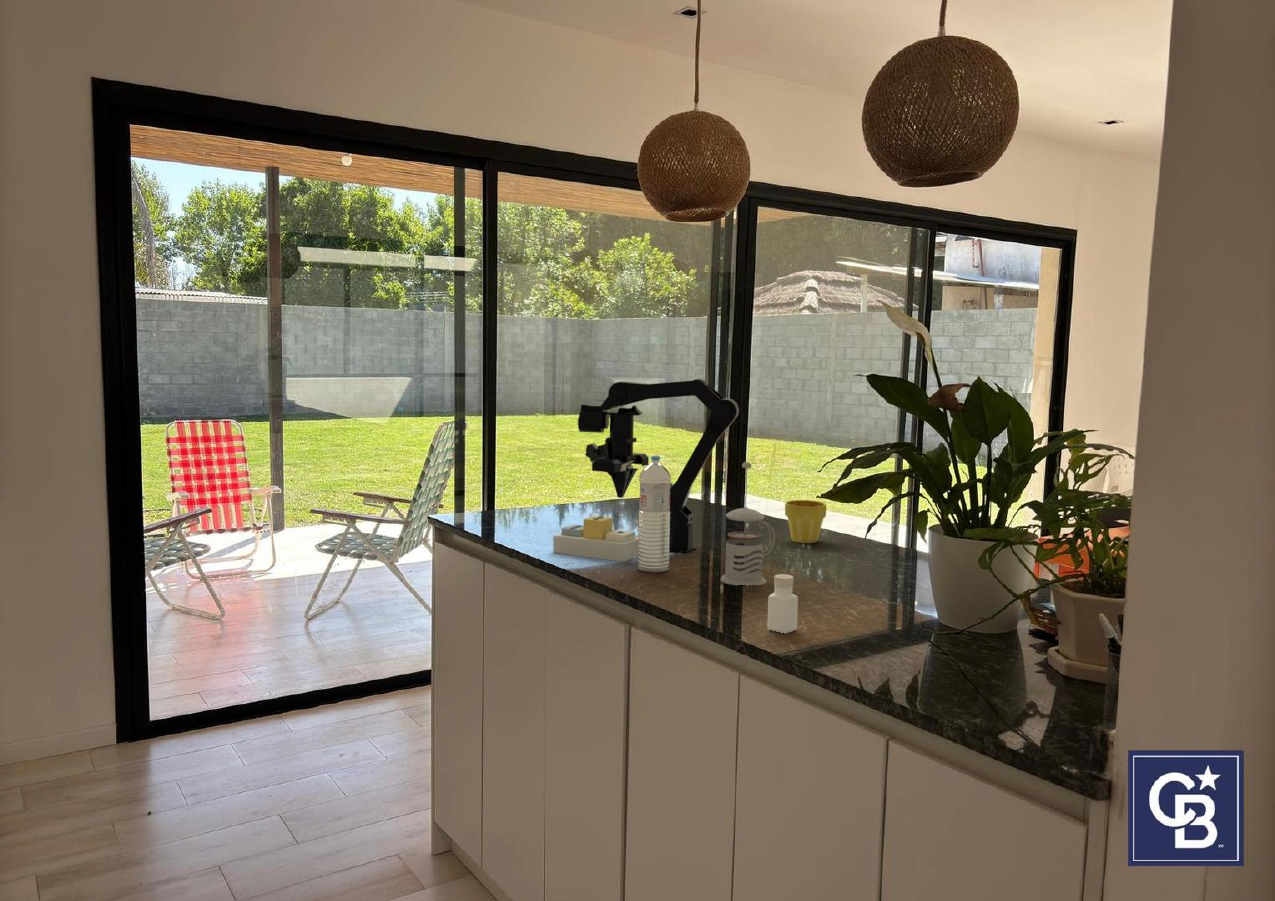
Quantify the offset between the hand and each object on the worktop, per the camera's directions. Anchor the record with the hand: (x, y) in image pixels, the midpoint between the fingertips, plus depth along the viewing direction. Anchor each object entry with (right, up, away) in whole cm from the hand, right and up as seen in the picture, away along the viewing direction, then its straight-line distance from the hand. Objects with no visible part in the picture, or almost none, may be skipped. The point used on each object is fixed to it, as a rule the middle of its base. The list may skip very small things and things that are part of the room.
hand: (620, 497), depth 228 cm
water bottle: (+8, -15, -23) cm, 28 cm away
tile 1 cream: (0, -13, -10) cm, 16 cm away
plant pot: (+47, -12, +12) cm, 50 cm away
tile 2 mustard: (-5, -9, -8) cm, 13 cm away
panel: (-5, -13, -7) cm, 16 cm away
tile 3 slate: (-11, -12, -5) cm, 17 cm away
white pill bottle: (+29, -20, -66) cm, 75 cm away
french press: (+27, -16, -31) cm, 44 cm away
